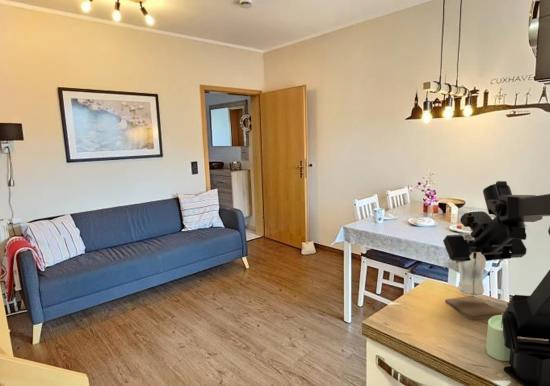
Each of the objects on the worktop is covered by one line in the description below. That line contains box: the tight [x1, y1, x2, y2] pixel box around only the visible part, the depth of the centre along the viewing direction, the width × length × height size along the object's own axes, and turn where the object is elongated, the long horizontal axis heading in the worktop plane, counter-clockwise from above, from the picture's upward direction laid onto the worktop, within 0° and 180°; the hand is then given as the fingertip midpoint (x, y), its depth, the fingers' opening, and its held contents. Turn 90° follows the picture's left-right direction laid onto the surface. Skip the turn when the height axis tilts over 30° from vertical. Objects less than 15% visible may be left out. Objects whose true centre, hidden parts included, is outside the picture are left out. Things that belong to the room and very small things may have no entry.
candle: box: [485, 314, 510, 362], centre depth 74 cm, size 5×5×8 cm
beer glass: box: [457, 232, 487, 296], centre depth 92 cm, size 7×7×15 cm
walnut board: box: [444, 295, 503, 321], centre depth 94 cm, size 10×9×1 cm
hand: (468, 260), depth 93 cm, fingers closed on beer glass, 6 cm apart
